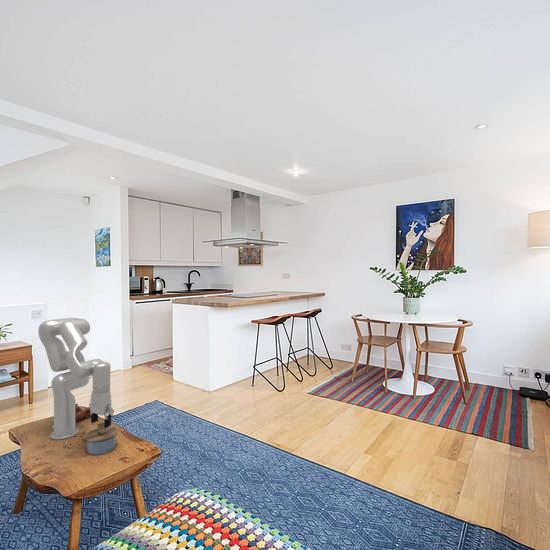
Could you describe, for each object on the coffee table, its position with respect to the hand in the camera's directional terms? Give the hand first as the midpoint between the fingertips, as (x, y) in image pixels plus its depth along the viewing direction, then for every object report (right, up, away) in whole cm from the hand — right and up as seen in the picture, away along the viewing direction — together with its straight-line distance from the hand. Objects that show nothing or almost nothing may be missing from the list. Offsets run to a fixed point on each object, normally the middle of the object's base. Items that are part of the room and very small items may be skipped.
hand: (101, 424), depth 166 cm
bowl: (0, -11, 0) cm, 11 cm away
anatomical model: (-30, -11, +34) cm, 47 cm away
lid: (0, -5, 0) cm, 5 cm away
